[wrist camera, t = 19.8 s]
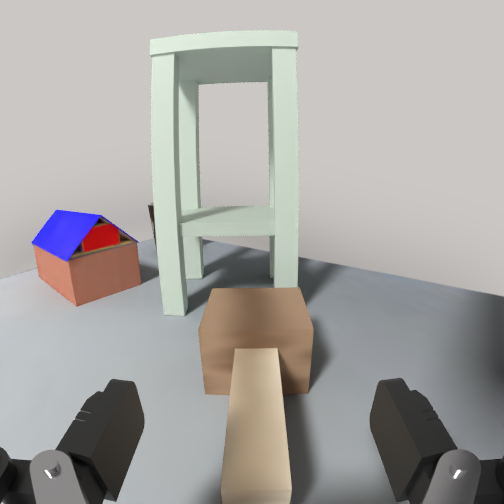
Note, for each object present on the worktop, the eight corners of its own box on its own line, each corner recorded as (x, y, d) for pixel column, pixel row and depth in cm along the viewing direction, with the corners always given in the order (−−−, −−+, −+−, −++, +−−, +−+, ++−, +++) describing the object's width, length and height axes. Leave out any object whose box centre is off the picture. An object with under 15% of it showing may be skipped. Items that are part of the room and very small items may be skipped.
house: (75, 309, 39) (61, 223, 36) (37, 277, 50) (27, 215, 47) (144, 285, 48) (137, 208, 45) (90, 263, 59) (83, 204, 56)
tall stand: (286, 272, 52) (285, 70, 44) (298, 316, 37) (297, 31, 29) (187, 272, 53) (181, 74, 44) (161, 316, 37) (150, 39, 29)
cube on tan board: (297, 343, 31) (299, 287, 30) (333, 524, 12) (356, 463, 10) (216, 344, 31) (212, 288, 30) (180, 524, 12) (155, 465, 11)
